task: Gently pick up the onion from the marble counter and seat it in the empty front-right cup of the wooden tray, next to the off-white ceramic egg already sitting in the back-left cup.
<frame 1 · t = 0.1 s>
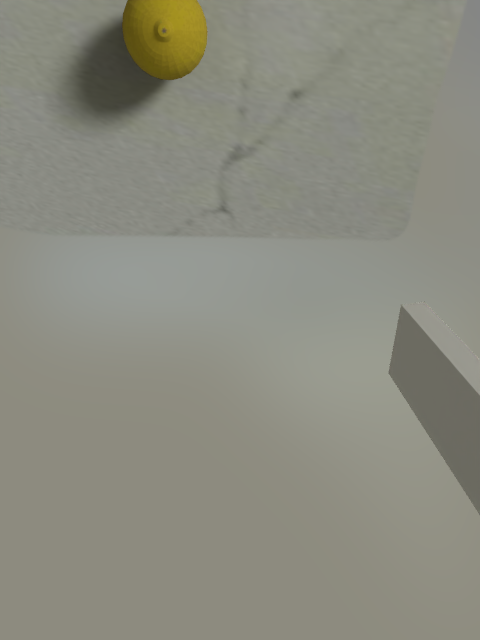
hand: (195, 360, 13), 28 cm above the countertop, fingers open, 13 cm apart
lemon: (167, 33, 32), on the countertop
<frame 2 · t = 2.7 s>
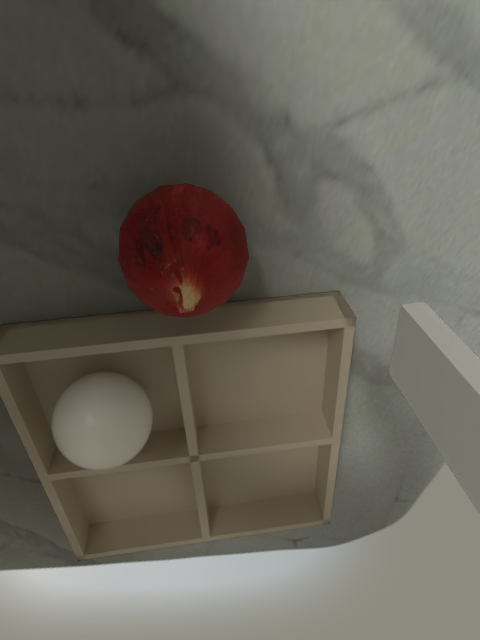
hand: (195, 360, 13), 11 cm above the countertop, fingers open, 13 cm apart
onion: (182, 221, 23), on the countertop
ceramic egg: (109, 387, 27), resting on wooden tray
wooden tray: (192, 424, 31), on the countertop
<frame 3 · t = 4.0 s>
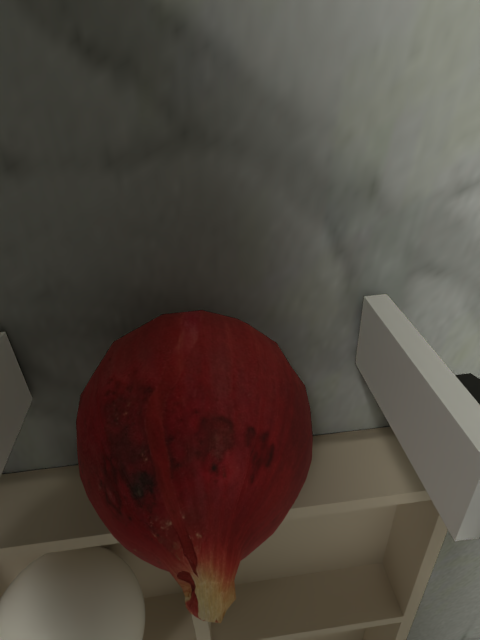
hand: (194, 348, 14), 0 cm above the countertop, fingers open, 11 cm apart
onion: (192, 339, 14), on the countertop
ceramic egg: (83, 553, 19), resting on wooden tray
wooden tray: (203, 582, 22), on the countertop
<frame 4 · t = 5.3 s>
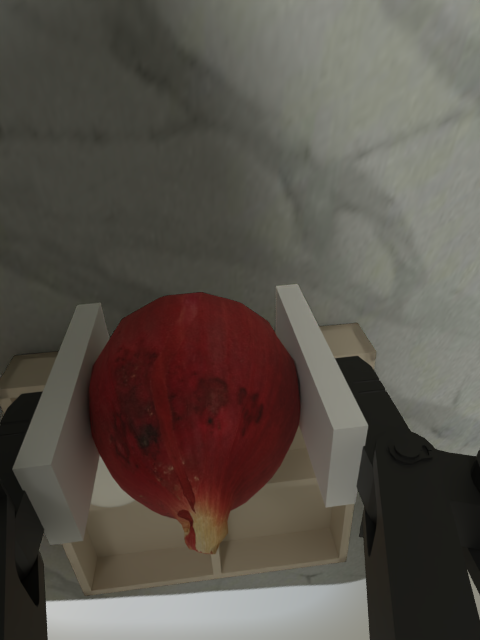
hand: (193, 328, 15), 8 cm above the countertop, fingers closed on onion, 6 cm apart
onion: (193, 323, 16), point 8 cm above the countertop, touching gripper
ceramic egg: (121, 418, 27), resting on wooden tray
wooden tray: (205, 457, 30), on the countertop
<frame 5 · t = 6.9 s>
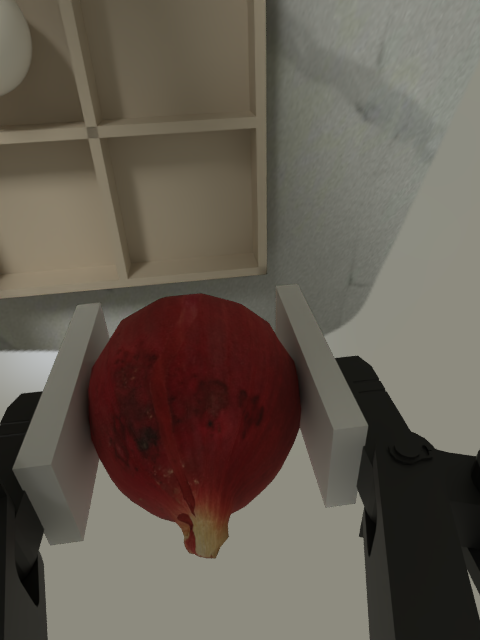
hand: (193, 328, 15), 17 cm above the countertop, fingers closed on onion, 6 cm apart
onion: (193, 324, 15), point 17 cm above the countertop, touching gripper
wooden tray: (100, 124, 27), on the countertop
when the fingers open (4 cm above the countertop, at t = 8.7 s): onion drops 4 cm, resting on wooden tray.
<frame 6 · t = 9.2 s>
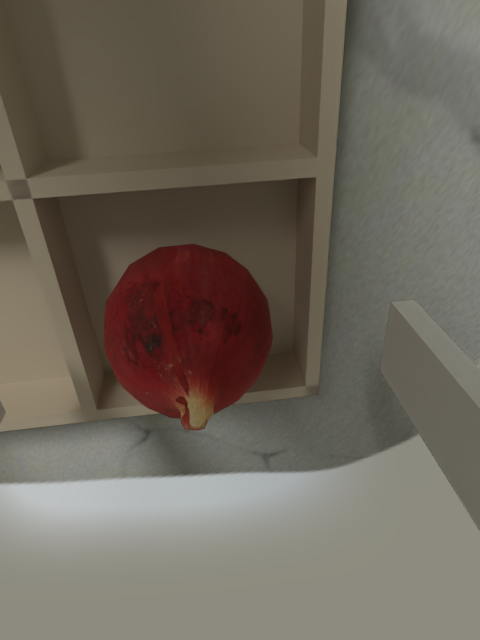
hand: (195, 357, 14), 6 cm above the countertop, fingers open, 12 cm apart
onion: (186, 279, 18), resting on wooden tray
wooden tray: (44, 166, 16), on the countertop
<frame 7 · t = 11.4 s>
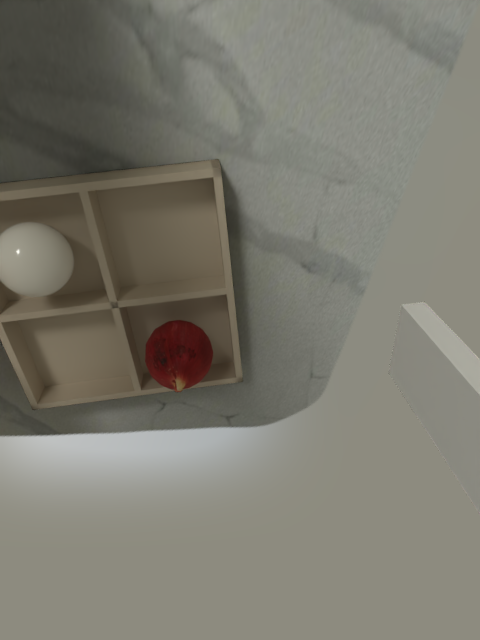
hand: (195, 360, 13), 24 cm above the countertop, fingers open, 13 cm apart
onion: (179, 330, 40), resting on wooden tray
ceramic egg: (44, 246, 35), resting on wooden tray
wooden tray: (119, 288, 38), on the countertop
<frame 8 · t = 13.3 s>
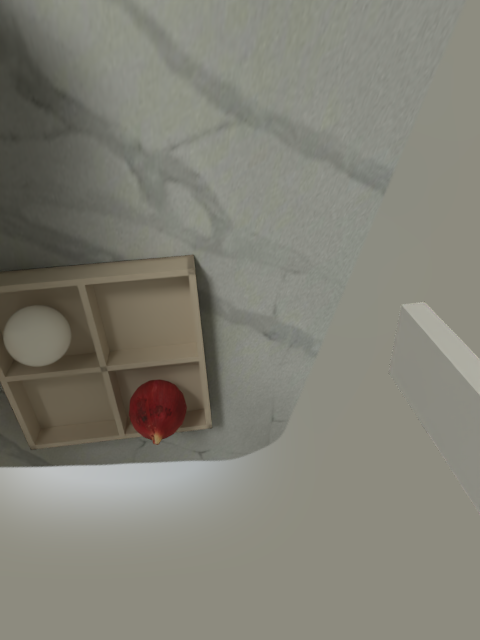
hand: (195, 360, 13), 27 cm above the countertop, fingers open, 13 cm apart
onion: (159, 383, 47), resting on wooden tray
ceramic egg: (46, 319, 41), resting on wooden tray
wooden tray: (108, 350, 45), on the countertop
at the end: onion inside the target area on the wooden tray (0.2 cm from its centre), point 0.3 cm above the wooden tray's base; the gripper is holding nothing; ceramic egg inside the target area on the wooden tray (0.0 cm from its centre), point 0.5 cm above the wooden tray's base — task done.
